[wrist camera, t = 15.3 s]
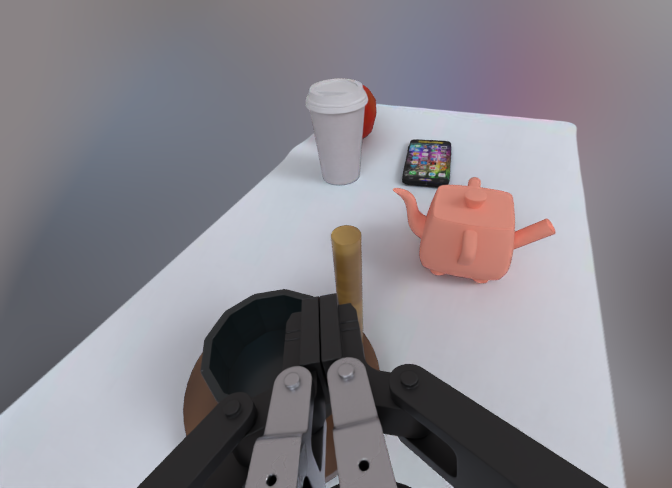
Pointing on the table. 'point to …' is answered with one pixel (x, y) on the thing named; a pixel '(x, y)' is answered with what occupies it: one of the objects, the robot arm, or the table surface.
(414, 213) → the teapot
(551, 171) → the table surface
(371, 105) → the apple
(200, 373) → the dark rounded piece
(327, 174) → the coffee cup
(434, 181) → the smartphone
